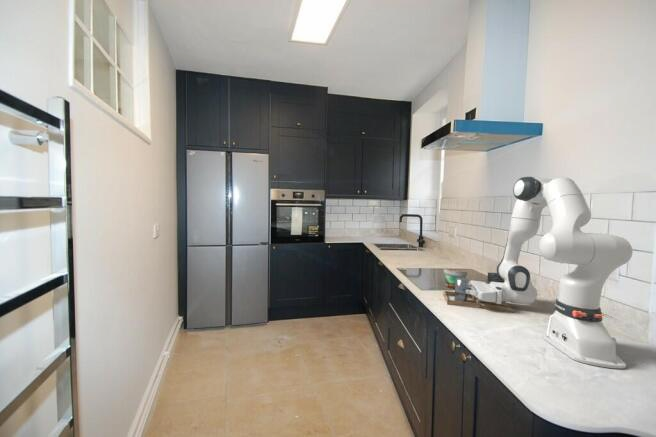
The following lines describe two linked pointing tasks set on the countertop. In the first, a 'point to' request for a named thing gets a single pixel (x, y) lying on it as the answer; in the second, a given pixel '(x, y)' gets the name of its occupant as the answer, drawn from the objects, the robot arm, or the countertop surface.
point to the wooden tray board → (477, 303)
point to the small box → (494, 278)
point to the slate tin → (461, 289)
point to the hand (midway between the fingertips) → (463, 288)
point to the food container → (453, 277)
